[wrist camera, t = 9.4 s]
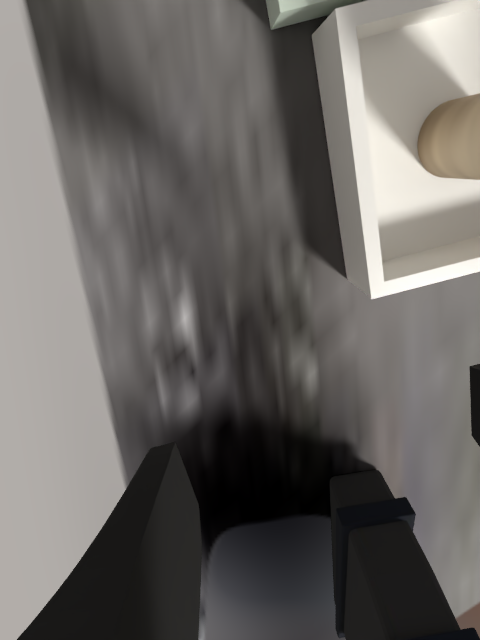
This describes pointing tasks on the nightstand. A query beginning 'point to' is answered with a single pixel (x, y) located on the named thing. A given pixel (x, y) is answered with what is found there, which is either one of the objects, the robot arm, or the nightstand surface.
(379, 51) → the tray
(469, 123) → the dowel
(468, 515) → the nightstand surface
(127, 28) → the nightstand surface
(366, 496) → the magazine
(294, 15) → the holder
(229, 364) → the nightstand surface
